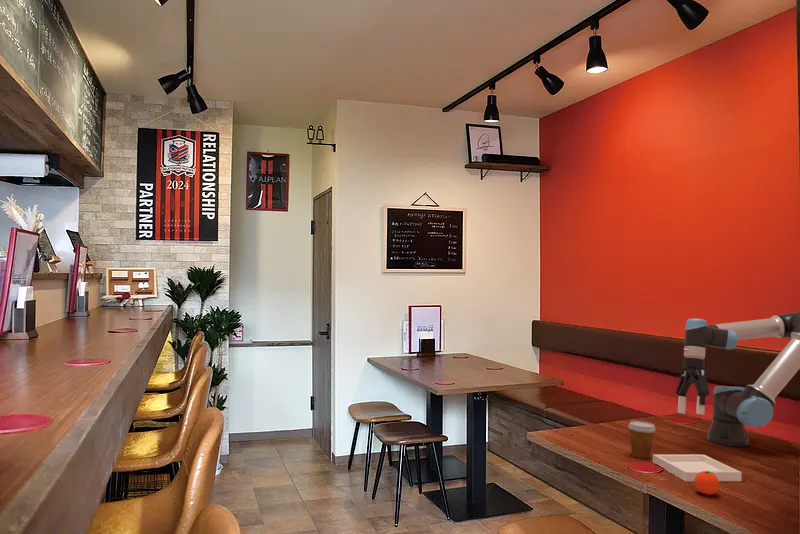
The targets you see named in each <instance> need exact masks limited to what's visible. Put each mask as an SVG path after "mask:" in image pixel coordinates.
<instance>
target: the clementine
mask: <svg viewBox="0 0 800 534" xmlns="http://www.w3.org/2000/svg"><path fill="white" fill-rule="evenodd" d="M694 486H695V488H696V489H697V491H698V492H699V493H701V494H703V495H706V496H711V495H714V494H715V493H717V492H718V490H719V489H720V481H719V480H718V478H717V477H716V476H715V475H714V474H713V472H710V471H702V472H700V473H698V474H697V475H696V477H695V482H694Z"/></svg>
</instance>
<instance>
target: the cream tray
mask: <svg viewBox="0 0 800 534" xmlns="http://www.w3.org/2000/svg"><path fill="white" fill-rule="evenodd" d="M651 462H653V463H652V464H654V463H655V464H657V465H659V466H661V467H663V468H664V469H665V470H664V469H663V470H664V471H666V470H667V471H666V472H668V473H670V474H671V473H672V474H671V475H673V474H674V477H676V478H678V477H679V478H678V479H680V480H682V481H684V482H687V483H689V482H690V483H691V482H692V483H695V477H696V475H697V474H698V473H700V472H702V471H710V472H713V474H714V475H715V476H716V477H717V478H718V480H719V482H742V471H740V470H737V469H736V468H734V467H732V466H729V465H727V464H724V463H723V462H721V461H718V460H716V459H714V458H712V457H710V456H708V455H706V454H652V461H651ZM655 464H654V465H655ZM657 465H656V466H657ZM659 466H658V467H659ZM661 467H660V468H661Z"/></svg>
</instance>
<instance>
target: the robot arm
mask: <svg viewBox="0 0 800 534" xmlns="http://www.w3.org/2000/svg"><path fill="white" fill-rule="evenodd" d="M772 337H774V338H776V339H790V340H789V342H788V343H787V344H786V345H785V346H784V348H783V349H782V350H781V351H780V352H779V354H778V355H777V356H776V357H775V358H774V360H773V361H772V362H771V363H770V364H769V366H768V367H766V369H765V370H764V372H763V373H762V374H761V375H760V376H759V378H757V380H756V381H755V382H754V384H747V385H746V386H745V387H743V386H727V385H726V386H725V385H716V386H715V387H714V388H713V393H712V422H711V425H710V427H709V429H708V432H707V437H706V438H707V439H706V440H707V441H709V442H711V443H713V444H717V445H722V446H726V447H727V446H728V447H738V448H739V447H740V448H743V447H748V446H749V437H748V433H747V431H746V428H745V426H748V427H753V428H761V427H764V426H766V425H768V424H769V423H770V422H771V420H772V418H773V416H774V407H775V405H776V400H775V398H776V397H777V396H778V395H779V393H780V392H781V391H782V390H783V389H784V388H786V385H788V383H789V382H790V381H791V380H792V378H793V377H794V376H795V375H796V374H797V373H798V371H799V370H800V311H795V312H789V313H781V314H777V315H776V314H775V315H772V316H771V317H770V318H762V319H752V320H743V321H734V322H724V323H718V324H717V323H716V324H708V322H707V320H706V319H702V318H689V319H687V320H686V323H685V329H684V348H683V357H684V358H683V362H682V367H683V368H685V370H681V372H680V377H679V381H678V383H677V386H676V391H675V395H677V396H678V401H677V402H678V403H677V413H679V414H684V415H685V414H686V405H687V393H688V391H689V389H690V387H691V386H692V385H693V384H694V386H695V388H696V391H697V394H696V395H697V396H696V411H695V414H697V415H703V416H705V409H706V397H707V396H710V389H709V384H708V380H707V371H706V370H705V363H706V362H705V360H704V359H705V358H706V346H709V347H712V348H713V347H714V348H718V349H719V348H720V349H724V350H734V349H735V348H736V347H737V345H738V341H742V340H753V339H754V340H755V339H760V338H761V339H762V338H763V339H764V338H772ZM747 445H748V446H747Z"/></svg>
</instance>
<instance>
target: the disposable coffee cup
mask: <svg viewBox="0 0 800 534" xmlns="http://www.w3.org/2000/svg"><path fill="white" fill-rule="evenodd" d="M628 429H629V437H630V438H629V439H630V450H631V456H632V457H634V458H636V457H638V458H637V459H641V458H648V459H650V458H651V453H652V445H653V440H654V435H655V432H656V430H657V429H656V427H655V424H653V423H652V422H651V423H650V422H646V421H641V420H640V421H639V420H638V421H637V420H633V421H630V422H629V424H628Z"/></svg>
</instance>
